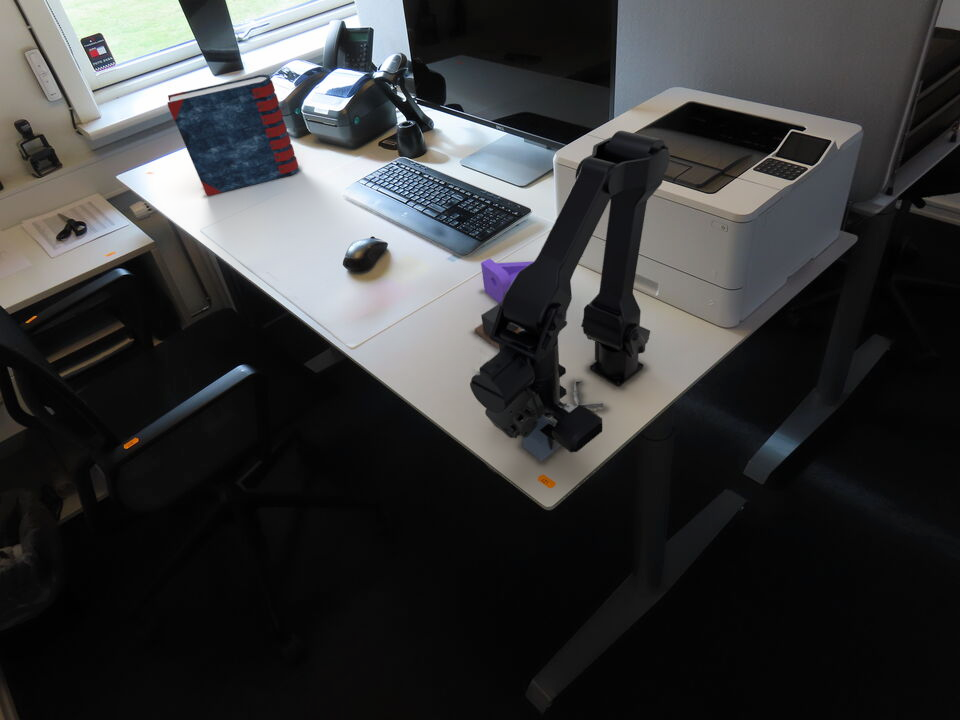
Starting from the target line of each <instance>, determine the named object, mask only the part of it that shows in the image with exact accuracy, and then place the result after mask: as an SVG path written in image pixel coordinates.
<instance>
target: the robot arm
mask: <svg viewBox="0 0 960 720" xmlns="http://www.w3.org/2000/svg"><path fill="white" fill-rule="evenodd" d="M670 161H671V154H670V150H669V146H667V145H666V143H665V141H664V140H663V139H661V138H657V137H653V136H649V135H644V134H639V133H636V132H632V131H631V132H630V131H626V130H618V131H616V132H614V134H613V135H612V136H611V137H608V138H606V139H604V140H602V141H600V142H598V143H596V144H594V145H593V147H592V152H591V154H590V155H588V156H586V157H584V158H583V159H582V160H581V161H580V162H579V164H578V166H577V168H576V171H575V176H574V177H575V181H574V183H573V185H572V187H571V189H570V191H569V193H568V195H567V197H566V199H565V201H564V203H563V205H562V207H561V209H560V210H559V213H558V215H557V217H556V219H555V221H554V223H553V225H552V227H551V229H550V231H549V233H548V235H547V237H546V239H545V241H544V243H543V245H542V247H541V249H540V251H539V253H538V255H537V257H536V258H535V260H534V262H533V263H531V264H530V265H528V266H527V267H525V268H524V269H522V270H521V271H520V272H519V273H518V274H517V276H516V277H515V279H514V281H513V282H512V284H511V285H510V287H509V289H508V290H507V291H506V292H505V294H504V296H503V299H502V302H501V305H500V308H499V311H498V314H497V317H496V320H495V323H494V326H493V329H492V332H491V335H490V340H491V341H493V342H496V343H498V344H499V349H498V350H499V352H497V353H496V354H495V355H494V356H493V357H492V358H490V359H489V360H487V361H485V362H484V363H483V364H482V365H481V366H480V367H479V371H477V372H476V373H475V374H474V375H473V376H472V377H471V380H470V382H469V387H470V390H471V392H472V394H473V396H474V398H475V399H476V400H477V401H478V403H479V404H481V405H482V406H483V407H484V408H485V410H484V413H485V416H486V417H487V418H488V420H489V421H490V422H491V424H493V426H494V427H495V428H496V429H498V430H499V431H500V432H502V433H503V434H505V436H507V437H508V438H511V439H517V438H518V437H519V436H521V438H522V437H524V438H526V437H528V436H529V435H530V434H531V433H532V431H533V430H534V429H535V428H536V427H537V425H538V421H537V419H536V418H538V419H539V418H541V417H542V416H543V417H545V418H546V419H547V420H551V421H550V422H549V423H548V424H547V425H546V426H545V427H543V428H542V429H541V430H540V431H541V432H542V433H543V434H545V435H546V436H547V437H548V443H549V447H550V449H551V450H554V449H555V448H556V447H557V446H558V445H559V444H560V445H561V446H560V447H563V448H564V449H566V450H567V451H568V452H570V453H578V452H579V451H581V450H582V449H583V448H584V447H585V446H586V445H588V444H589V443H590V442H591V441H592V440H594V439H595V438H596V437H598V436H599V435H600V434H601V433H602V432H603V418H602V417H601V416H600V415H598V414H597V413H595V412H594V411H591V410H589V409H588V408H586V407H585V406H582V405H578V406H577V405H574V404H572V403H570V402H565V403H564V402H562V401H561V399H563V398H564V397H565V396H567V394H568V393H567V388H565V387H564V386H563V385H561V378H562V377H563V376H564V375H566V374H567V369H566V367H565V366H563V365H561V363H560V356H559V355H560V354H559V335H560V332H561V331H562V330H563V329H564V328H565V327H567V325H568V321H567V312H568V309H569V307H570V305H571V302H572V299H573V296H572V294H573V293H572V283H571V281H572V278H573V275H574V273H575V271H576V269H577V267H578V264H579V263H580V261H581V259H582V256H583V255H584V253H585V250H586V248H587V246H588V244H589V243H590V241H591V239H592V237H593V234H594V233H595V230H596V228H597V227H598V224H599V223H600V221H601V218H602V216H603V214H604V213H605V210H606V209H607V206H608V204H609V203H610V204H609V210H608V217H607V218H608V220H607V226H606V227H607V228H606V236H605V244H604V251H603V258H602V259H603V261H602V267H601V268H602V269H601V276H600V284H599V290H598V293H597V294H596V295H595V297H594V298H593V299H592V300H590V302H589V303H587V304H586V305H585V306H584V308H583V318H582V323H581V325H580V326H581V328H582V332H583V334H584V335H585V336H586V338H587V339H588V340H590V341H594V361H595V362H593V363H592V364H590V366H589V370H590V371H591V372H593V373H595V374H596V375H598V376H599V377H601V378H602V379H605V380H606V381H608V382H609V383H611V384H612V385H614V386H616V387H617V388H618V387H621V386H623V385H624V384H626V382H628V381H629V380H631V379H632V378H633V377H634V376H635V375H637V374H638V373H639V372H640V371H642V370H643V369H644V366H645V365H644V364H643V363H642V362H640V361H639V354H644V352H646V345H647V344H648V342H649V340H650V334H651V330H650V329H648V328H645V327H643V326H641V314H642V313H641V311H642V310H641V308H640V306H639V304H638V301H637V300H636V297H635V294H634V287H635V281H636V274H637V268H638V261H639V255H640V248H641V242H642V236H643V231H644V230H643V228H644V223H645V216H646V210H647V205H648V200H649V199H650V198H651V197H652V196H653V195H654V194H655V192H656V191H657V190H658V189H659V187H661V185H663V181H664V176H665V173H666V172H667V170H668V168H669V164H670ZM509 323H510V324H513V325H515V326H517V327H519V328H522V329H521V330H520V331H519V332H518V333H516V332H513V331H511V330H509V329H507V326H508V324H509ZM575 406H577V407H575Z"/></svg>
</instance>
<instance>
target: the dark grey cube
mask: <svg viewBox="0 0 960 720" xmlns="http://www.w3.org/2000/svg"><path fill="white" fill-rule="evenodd" d="M500 305H501V303H500V304H499V303H498V304H496V305H495V306H493V307H492V308H490V309H488V310H487V311H485V312H483V313H482V314H481V315H480V316H481V324H483V331H484V333H486V334H487V335H489V336H490V335H491V332H492V329H493V326H494V323H495V320H496V317H497V314H498V311H499V308H500ZM518 328H519V327H517V326H515V325H513V324H510V323H509V324H508V326H507V329H509V330H511V331H513V332H514V331H515V330H517V329H518Z"/></svg>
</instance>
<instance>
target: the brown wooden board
mask: <svg viewBox="0 0 960 720" xmlns="http://www.w3.org/2000/svg"><path fill="white" fill-rule="evenodd" d="M521 329H522V328H518V329H517V330H515V331H514V332H516V333H518V332H519V331H520V330H521ZM474 334H476V335H477V336H479V337H480V338H482V339H483V340H485V341H486V342H488V343H490V345H492V346H494V347H495V348H497V349H498V350H500V349H499V344H498V343H496V342H493V341H491V340H490V336H489V335H487V334H486V333H484V331H483V324H482V323H481V324H480V325H478V326H477V327H475V328H474Z"/></svg>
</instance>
